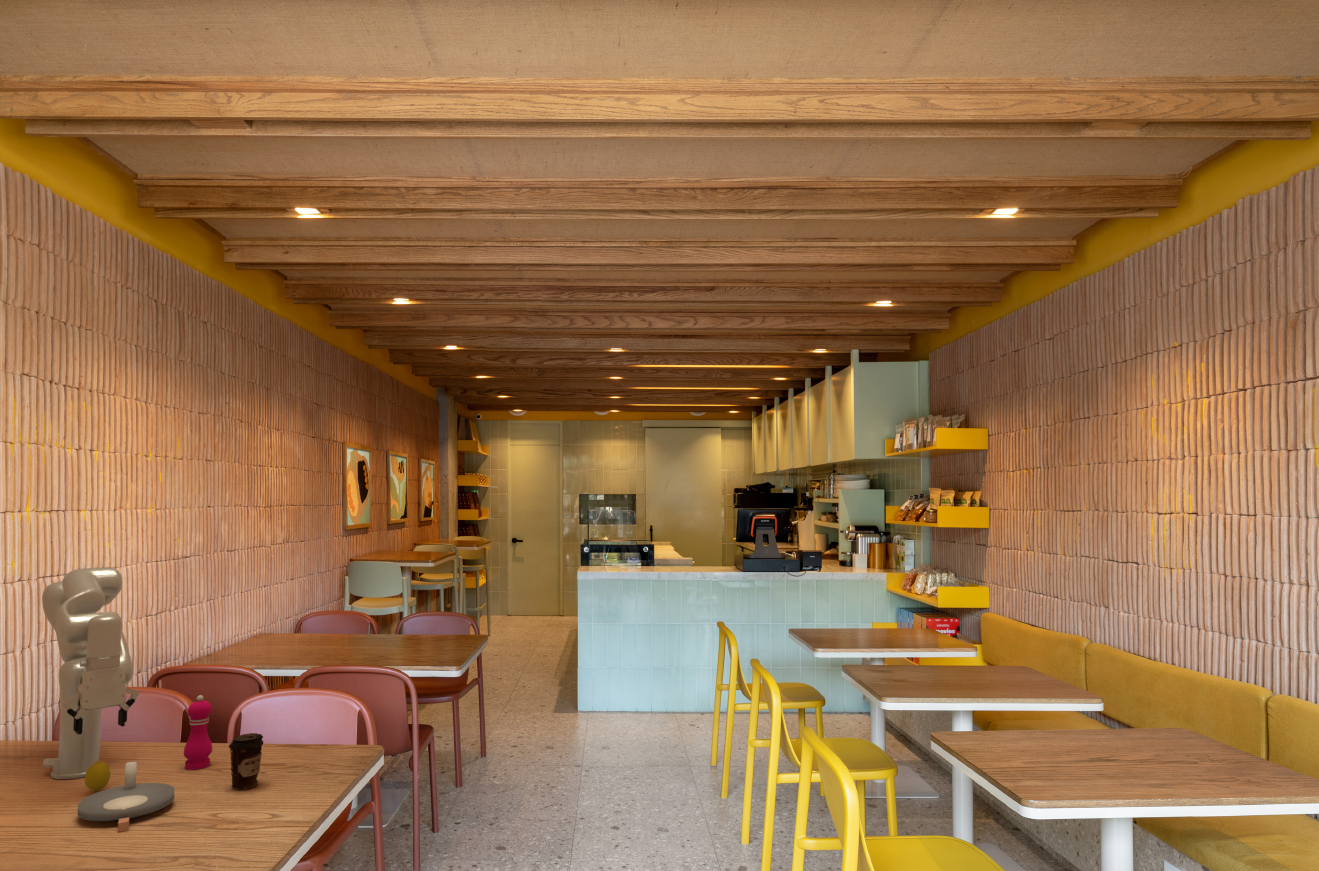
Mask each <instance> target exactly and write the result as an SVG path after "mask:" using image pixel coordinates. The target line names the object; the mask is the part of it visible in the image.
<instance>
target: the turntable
mask: <svg viewBox="0 0 1319 871" xmlns="http://www.w3.org/2000/svg"><path fill="white" fill-rule="evenodd" d="M137 765H138V763H137V761H129V762H126V763H125V767H124V770H125V772H124V785H120V786H119V785H118V786H116V787H112V788H106V789H104V790H100V791H99V792H94V793H92V794H91V795H90V794H89V795H88V796H86V797H84V798H83V799H81V800H80V801H79V802H78V804H77V816H78V818H80V819H82V820H84V821H93V822H112V821H111V820H119V819H122V818H128V817H129V818H132V817H136V816H139V817H142V816H145V815H148V814H150V813H154V812H156V811H159V810H161V809H163V808H166V807H167V806H168V805H170V804H172V803H173V802H174V800H175V791H176V789H175V787H174V786H173V785H171V784H168V783H162V782H143V783H142V782H141V783H137ZM144 814H145V815H144ZM141 815H142V816H141ZM136 818H137V817H136ZM132 819H133V818H132Z"/></svg>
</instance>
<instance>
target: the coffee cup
mask: <svg viewBox="0 0 1319 871" xmlns="http://www.w3.org/2000/svg"><path fill="white" fill-rule="evenodd" d="M263 738H264V735H262V734H261V733H255V732H254V733H253V732H251V733H243V734H240V735H236V736H235V737H234V738H233V739H232V742H230V744H229V745H228V747H229V751H230V752H229V753H230V772H231V773H230V775H231V788H232V790H235V791H240V790H241V791H242V790H248V789H252V788H255V787H257V785H259V780H258V779H257V778H258V775H259V773H260V771H261V760H262V754H263V753H262V749H263V747H262V746H263V745H264V741H263Z"/></svg>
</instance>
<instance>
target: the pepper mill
mask: <svg viewBox="0 0 1319 871" xmlns="http://www.w3.org/2000/svg"><path fill="white" fill-rule="evenodd" d="M211 712H212V705H211V703H210V701H208V700H205V698H204V696H203V695H202V694H200V695H198V696H196V701H193V702H191V703H190V705H189V706H188V708H187V715H188V717H189V718H190V719H189V723H188V725H190V734H189V736H188V739H187V741H186V744H185V745H184V748H183V757H184V758H185V759H186V760H185V762H184V768H185V770H191V771H194V770H201V769H205V768H207V767H209V766H210V765H211V758H210V757H209V756H210V755H211V754H212V752H213V744H212V741H211V739H210V736H209V733H208V723H209V722H210V716H209V715H210V714H211Z"/></svg>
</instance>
